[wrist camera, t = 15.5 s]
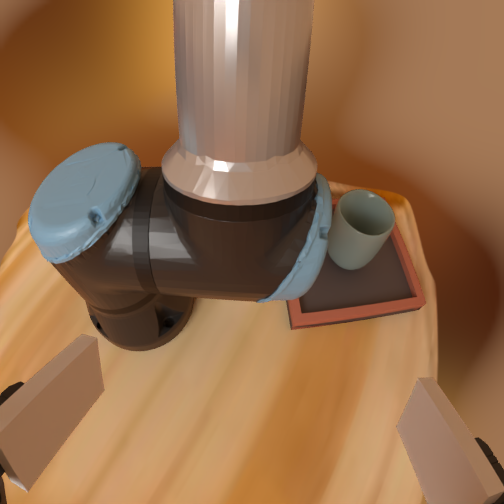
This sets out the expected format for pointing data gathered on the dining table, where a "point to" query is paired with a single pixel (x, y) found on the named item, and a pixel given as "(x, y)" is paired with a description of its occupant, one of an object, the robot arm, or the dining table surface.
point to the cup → (359, 228)
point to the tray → (360, 289)
